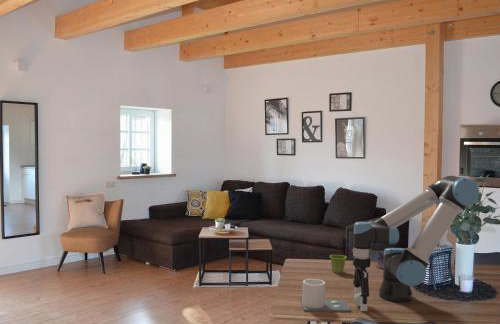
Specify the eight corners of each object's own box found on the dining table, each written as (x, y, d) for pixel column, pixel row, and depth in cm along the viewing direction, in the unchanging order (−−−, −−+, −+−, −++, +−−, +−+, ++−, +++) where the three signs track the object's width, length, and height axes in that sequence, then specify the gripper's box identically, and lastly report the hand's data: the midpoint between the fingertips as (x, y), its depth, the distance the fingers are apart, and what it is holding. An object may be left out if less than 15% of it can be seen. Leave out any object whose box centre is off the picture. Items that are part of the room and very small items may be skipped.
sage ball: (365, 304, 210) (366, 291, 209) (369, 309, 204) (369, 295, 203) (352, 304, 210) (352, 291, 209) (355, 308, 204) (355, 295, 203)
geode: (389, 271, 265) (387, 254, 265) (372, 270, 274) (370, 253, 274) (409, 265, 278) (407, 248, 278) (392, 263, 287) (391, 247, 287)
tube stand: (344, 301, 213) (344, 278, 213) (350, 311, 200) (351, 286, 200) (300, 300, 213) (300, 277, 212) (304, 311, 200) (304, 286, 199)
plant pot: (348, 271, 264) (349, 256, 264) (342, 275, 256) (343, 259, 256) (333, 268, 269) (333, 253, 269) (326, 272, 261) (327, 257, 261)
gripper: (347, 250, 218) (346, 297, 218) (359, 263, 194) (358, 315, 195) (363, 251, 218) (362, 297, 218) (377, 264, 194) (376, 315, 195)
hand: (360, 306), depth 207 cm, fingers open, 11 cm apart
